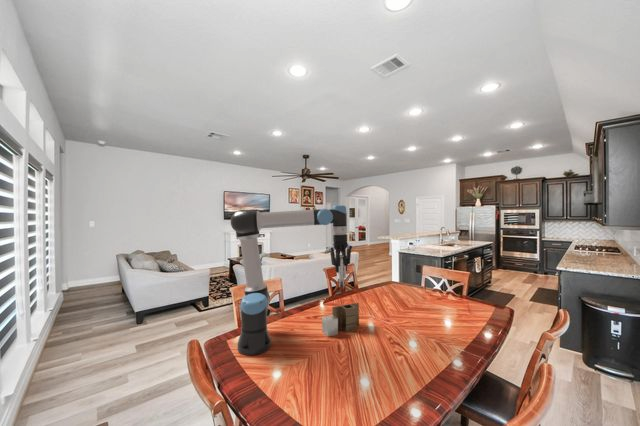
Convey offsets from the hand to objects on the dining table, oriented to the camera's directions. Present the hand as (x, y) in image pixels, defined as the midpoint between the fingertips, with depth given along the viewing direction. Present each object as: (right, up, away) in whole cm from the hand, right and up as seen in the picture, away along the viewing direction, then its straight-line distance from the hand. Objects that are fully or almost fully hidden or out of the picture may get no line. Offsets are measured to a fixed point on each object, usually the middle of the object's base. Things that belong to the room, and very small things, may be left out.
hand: (341, 277), depth 142 cm
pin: (0, -5, 0) cm, 5 cm away
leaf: (-1, -27, -3) cm, 27 cm away
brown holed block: (+6, -27, 0) cm, 28 cm away
